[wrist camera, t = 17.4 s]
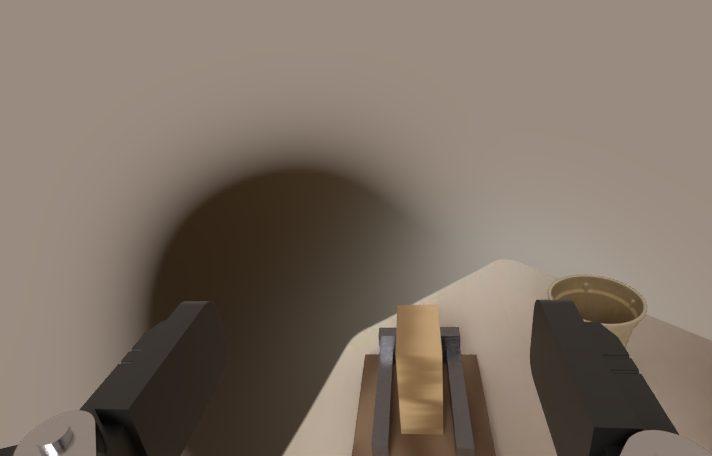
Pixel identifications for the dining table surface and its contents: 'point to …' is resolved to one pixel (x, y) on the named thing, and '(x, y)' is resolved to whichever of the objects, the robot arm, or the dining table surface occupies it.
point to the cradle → (460, 406)
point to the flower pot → (602, 302)
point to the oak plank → (419, 369)
